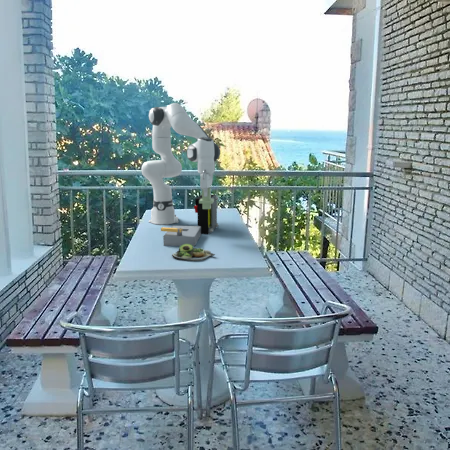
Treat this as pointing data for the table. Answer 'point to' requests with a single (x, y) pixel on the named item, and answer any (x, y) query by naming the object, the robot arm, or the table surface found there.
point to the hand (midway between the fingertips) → (206, 195)
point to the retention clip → (173, 230)
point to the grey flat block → (183, 236)
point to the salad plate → (191, 253)
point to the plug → (206, 200)
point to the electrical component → (207, 215)
